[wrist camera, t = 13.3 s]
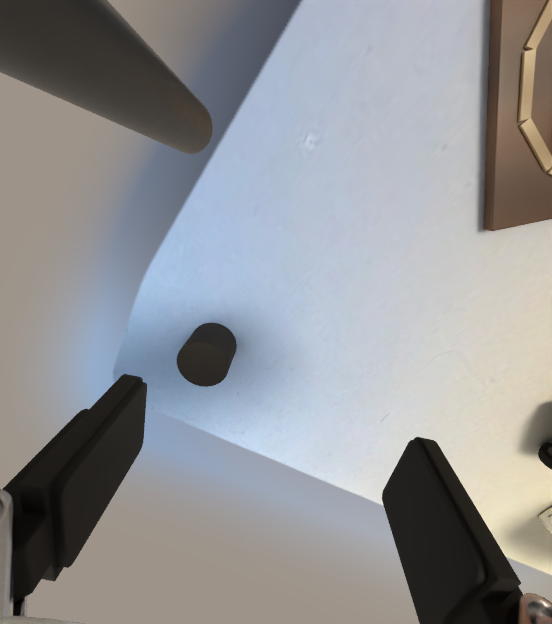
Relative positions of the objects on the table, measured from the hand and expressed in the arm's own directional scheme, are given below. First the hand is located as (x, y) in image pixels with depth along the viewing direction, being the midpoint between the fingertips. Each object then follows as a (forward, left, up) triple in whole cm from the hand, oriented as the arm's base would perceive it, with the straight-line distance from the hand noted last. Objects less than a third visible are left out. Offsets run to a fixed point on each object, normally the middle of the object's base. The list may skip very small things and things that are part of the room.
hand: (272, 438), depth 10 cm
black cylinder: (+3, -7, -14) cm, 16 cm away
